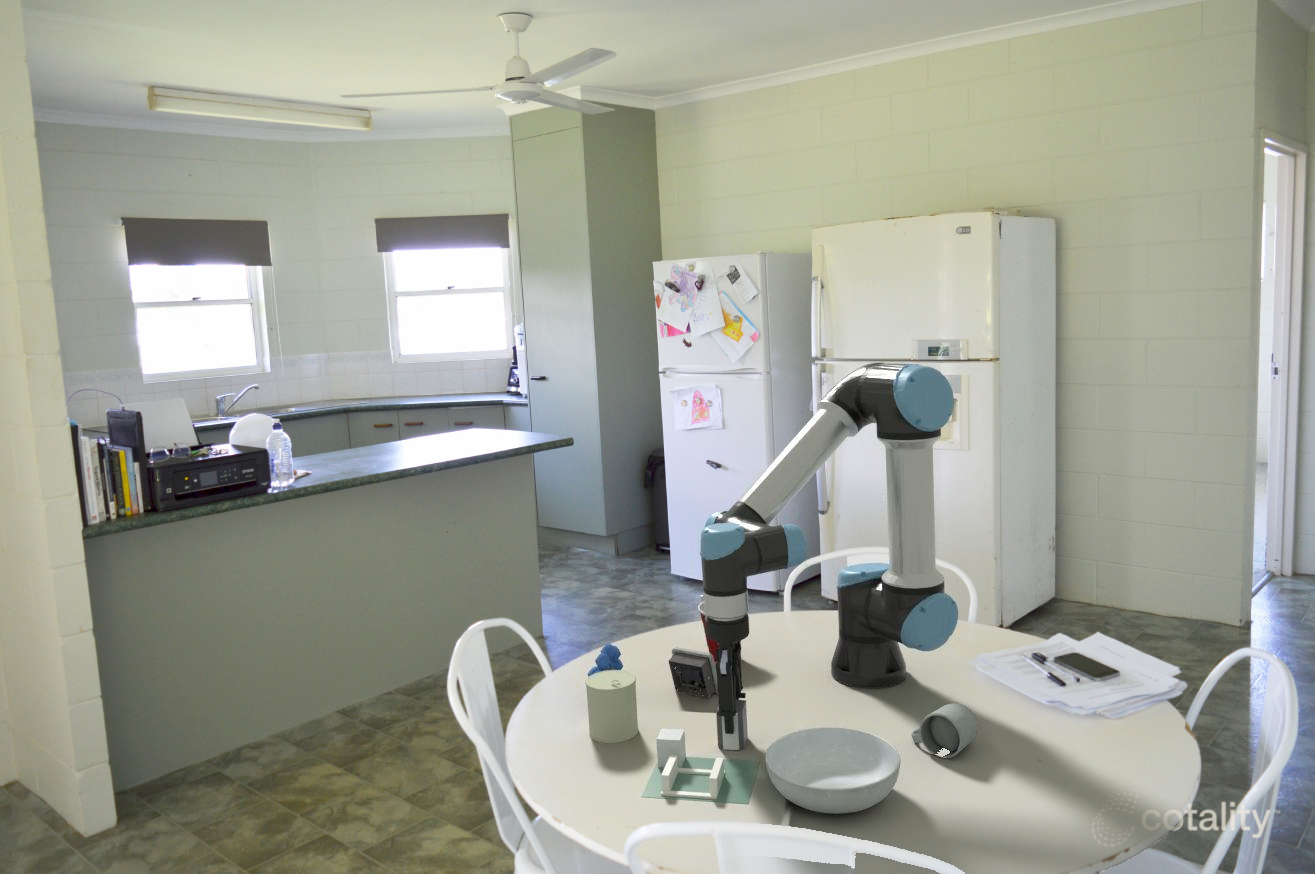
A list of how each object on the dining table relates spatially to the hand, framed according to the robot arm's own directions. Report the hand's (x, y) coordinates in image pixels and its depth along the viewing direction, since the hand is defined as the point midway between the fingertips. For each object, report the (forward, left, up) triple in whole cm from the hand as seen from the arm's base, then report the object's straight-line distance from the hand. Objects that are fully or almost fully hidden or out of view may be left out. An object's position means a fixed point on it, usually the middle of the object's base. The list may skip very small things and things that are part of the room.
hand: (733, 741), depth 170 cm
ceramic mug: (-35, -5, -2) cm, 36 cm away
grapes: (+28, -17, -2) cm, 33 cm away
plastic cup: (+8, -43, -2) cm, 44 cm away
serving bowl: (-18, +13, -2) cm, 22 cm away
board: (+3, +13, -2) cm, 14 cm away
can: (+22, -2, -2) cm, 22 cm away
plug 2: (0, 0, -1) cm, 1 cm away
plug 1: (+9, +8, 0) cm, 12 cm away
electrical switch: (+11, -24, -2) cm, 26 cm away
